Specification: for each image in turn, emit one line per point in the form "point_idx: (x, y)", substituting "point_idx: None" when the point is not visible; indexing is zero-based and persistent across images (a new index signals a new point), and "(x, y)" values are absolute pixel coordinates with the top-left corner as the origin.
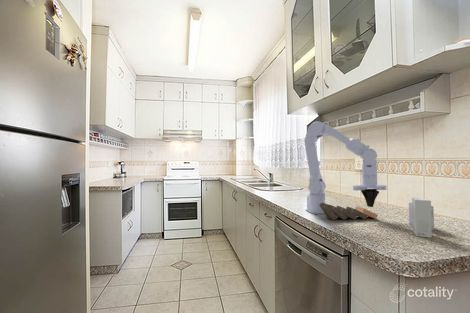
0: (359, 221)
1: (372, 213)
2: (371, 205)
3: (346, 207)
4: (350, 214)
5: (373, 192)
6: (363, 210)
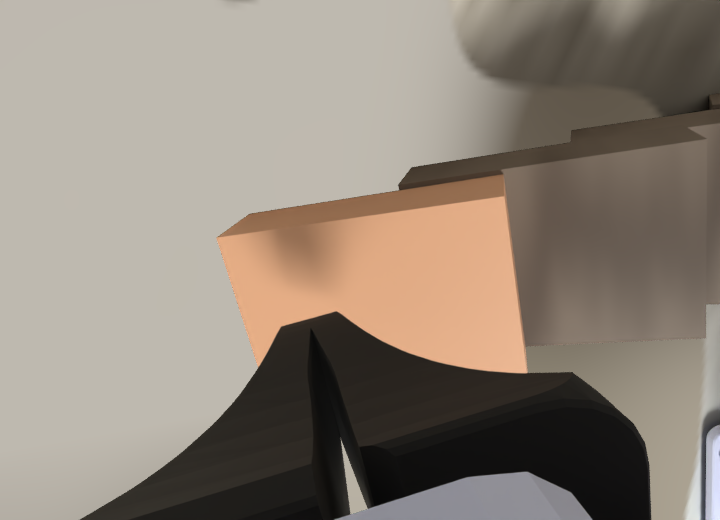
0: (553, 45)
1: (317, 218)
2: (325, 318)
3: (698, 327)
4: (688, 120)
5: (378, 439)
6: (502, 185)
